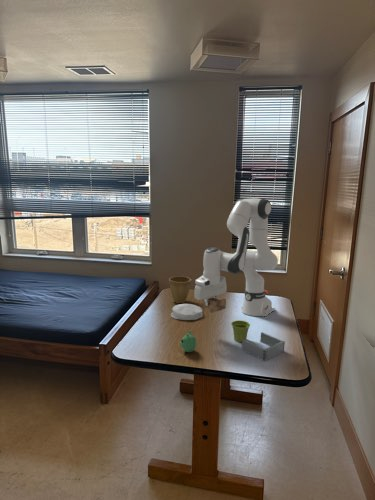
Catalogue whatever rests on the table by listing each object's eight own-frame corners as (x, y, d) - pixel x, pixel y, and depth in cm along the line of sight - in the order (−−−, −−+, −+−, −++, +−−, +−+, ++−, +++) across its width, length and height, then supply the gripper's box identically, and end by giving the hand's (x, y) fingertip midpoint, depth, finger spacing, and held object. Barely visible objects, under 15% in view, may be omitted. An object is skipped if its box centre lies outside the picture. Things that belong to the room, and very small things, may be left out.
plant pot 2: (245, 345, 169) (245, 329, 168) (227, 340, 174) (228, 325, 173) (252, 338, 177) (252, 322, 176) (235, 334, 182) (236, 319, 180)
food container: (181, 307, 222) (181, 297, 221) (208, 313, 212) (208, 302, 210) (164, 317, 205) (163, 307, 204) (192, 324, 195) (192, 313, 194)
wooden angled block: (211, 302, 186) (211, 294, 185) (225, 308, 178) (225, 299, 177) (197, 307, 179) (198, 298, 178) (211, 312, 171) (211, 303, 170)
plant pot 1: (182, 307, 221) (183, 283, 218) (164, 302, 229) (164, 279, 226) (195, 300, 233) (195, 278, 230) (177, 296, 241) (177, 275, 238)
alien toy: (182, 346, 167) (183, 327, 165) (197, 349, 165) (198, 329, 163) (178, 353, 161) (178, 333, 159) (193, 356, 158) (194, 335, 156)
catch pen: (261, 341, 174) (262, 332, 173) (284, 351, 164) (284, 341, 163) (242, 349, 165) (242, 340, 164) (264, 361, 155) (265, 350, 154)
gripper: (221, 274, 185) (220, 298, 188) (192, 281, 172) (192, 306, 175) (229, 277, 180) (228, 301, 183) (200, 283, 167) (200, 310, 170)
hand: (210, 304), depth 179 cm, fingers closed on wooden angled block, 3 cm apart
